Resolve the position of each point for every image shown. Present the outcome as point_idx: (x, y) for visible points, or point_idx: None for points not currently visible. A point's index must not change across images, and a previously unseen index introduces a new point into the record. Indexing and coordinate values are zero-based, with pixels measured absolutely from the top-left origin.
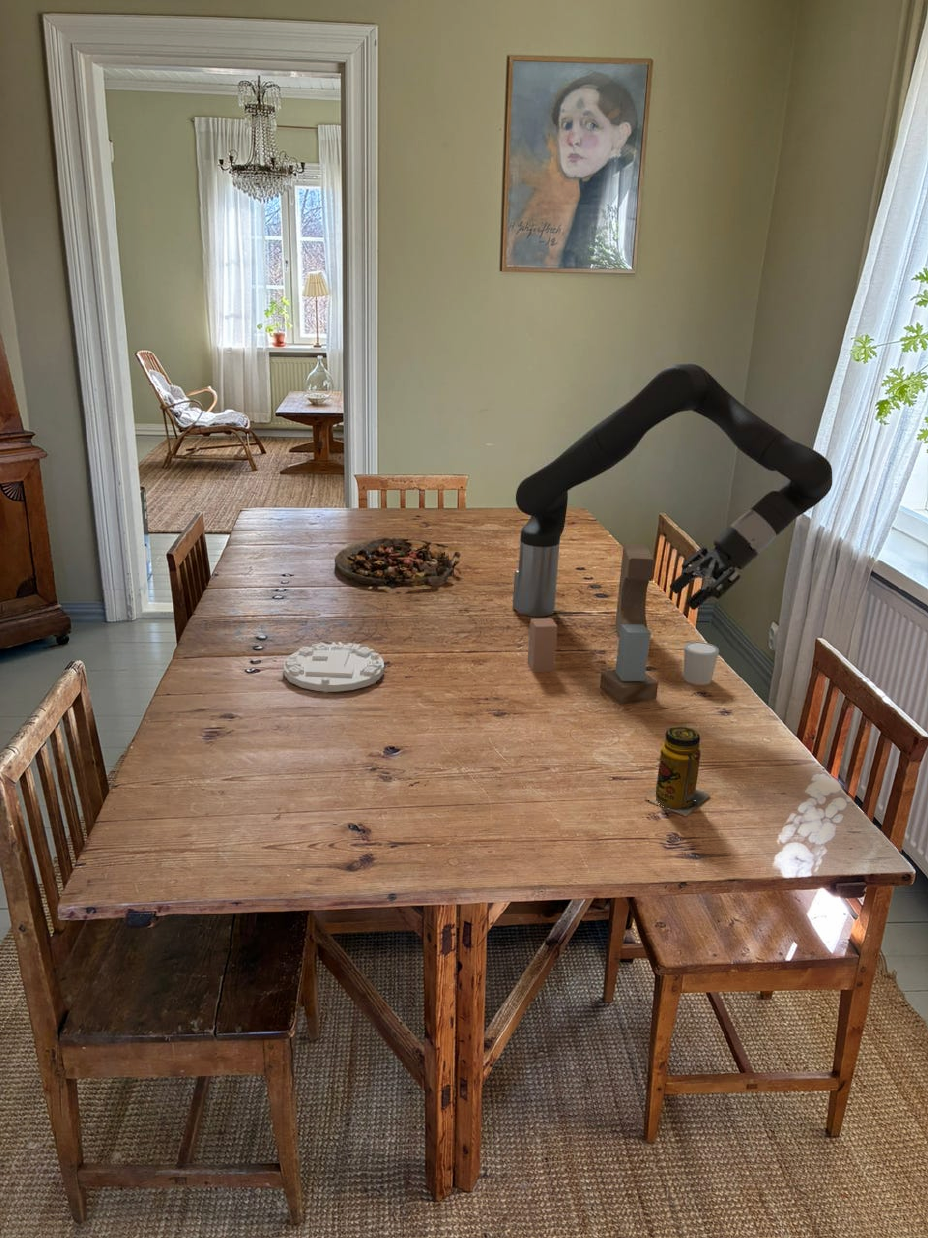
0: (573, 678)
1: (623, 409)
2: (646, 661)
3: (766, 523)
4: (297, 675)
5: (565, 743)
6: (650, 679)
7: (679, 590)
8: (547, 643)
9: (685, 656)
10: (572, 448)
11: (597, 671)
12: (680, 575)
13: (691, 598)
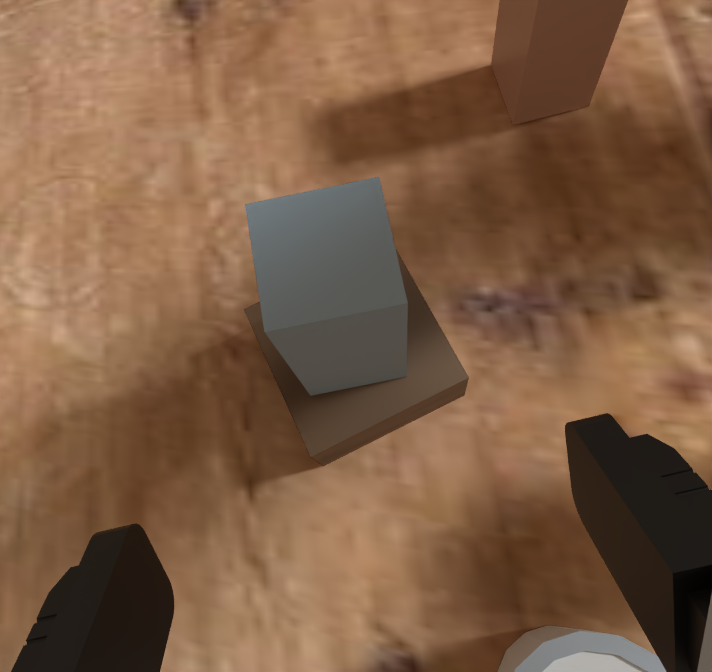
0: (463, 186)
1: None
2: (295, 373)
3: None
4: None
5: (18, 165)
6: (338, 426)
7: (595, 533)
8: (519, 16)
9: (561, 631)
10: None
11: (546, 267)
12: (697, 526)
13: (88, 570)
